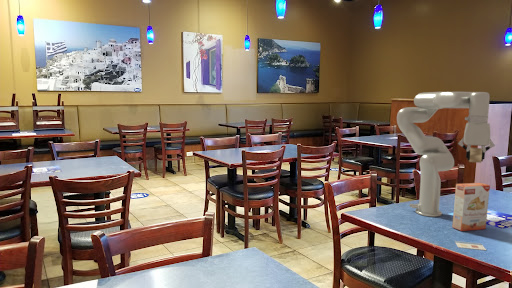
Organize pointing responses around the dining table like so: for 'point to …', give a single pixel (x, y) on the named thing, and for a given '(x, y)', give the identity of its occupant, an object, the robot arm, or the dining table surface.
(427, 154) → the robot arm
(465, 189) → the cracker box
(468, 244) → the menu card
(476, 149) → the maple block
